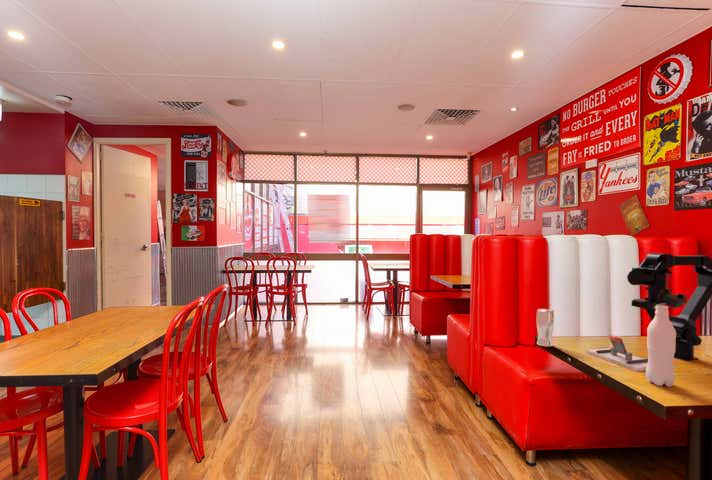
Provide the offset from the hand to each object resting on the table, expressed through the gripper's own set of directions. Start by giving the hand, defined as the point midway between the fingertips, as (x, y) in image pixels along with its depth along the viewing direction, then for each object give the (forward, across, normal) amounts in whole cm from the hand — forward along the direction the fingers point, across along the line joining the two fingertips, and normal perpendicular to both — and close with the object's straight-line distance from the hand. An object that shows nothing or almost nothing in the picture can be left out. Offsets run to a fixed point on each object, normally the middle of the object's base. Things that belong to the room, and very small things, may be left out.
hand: (656, 325), depth 139 cm
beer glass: (+13, -30, +24) cm, 41 cm away
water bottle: (+13, -25, -19) cm, 34 cm away
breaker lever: (+10, -16, +1) cm, 19 cm away
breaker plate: (+13, -16, +1) cm, 21 cm away
